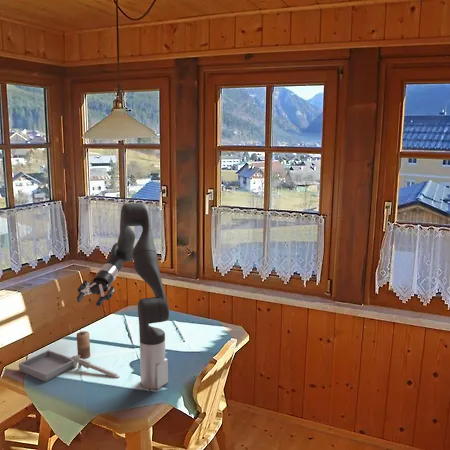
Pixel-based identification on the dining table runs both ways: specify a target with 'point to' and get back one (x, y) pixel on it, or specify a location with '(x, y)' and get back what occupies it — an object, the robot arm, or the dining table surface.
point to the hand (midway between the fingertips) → (87, 302)
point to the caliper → (92, 366)
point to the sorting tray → (47, 365)
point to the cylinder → (83, 344)
